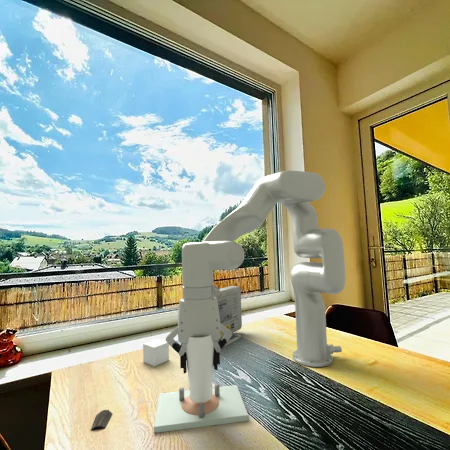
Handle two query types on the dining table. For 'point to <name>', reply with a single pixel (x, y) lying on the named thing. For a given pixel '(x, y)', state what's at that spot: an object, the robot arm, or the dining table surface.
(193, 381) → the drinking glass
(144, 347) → the white cube
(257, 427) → the dining table surface
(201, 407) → the pin nest plate
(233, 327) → the network device
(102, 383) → the dining table surface
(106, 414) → the block
